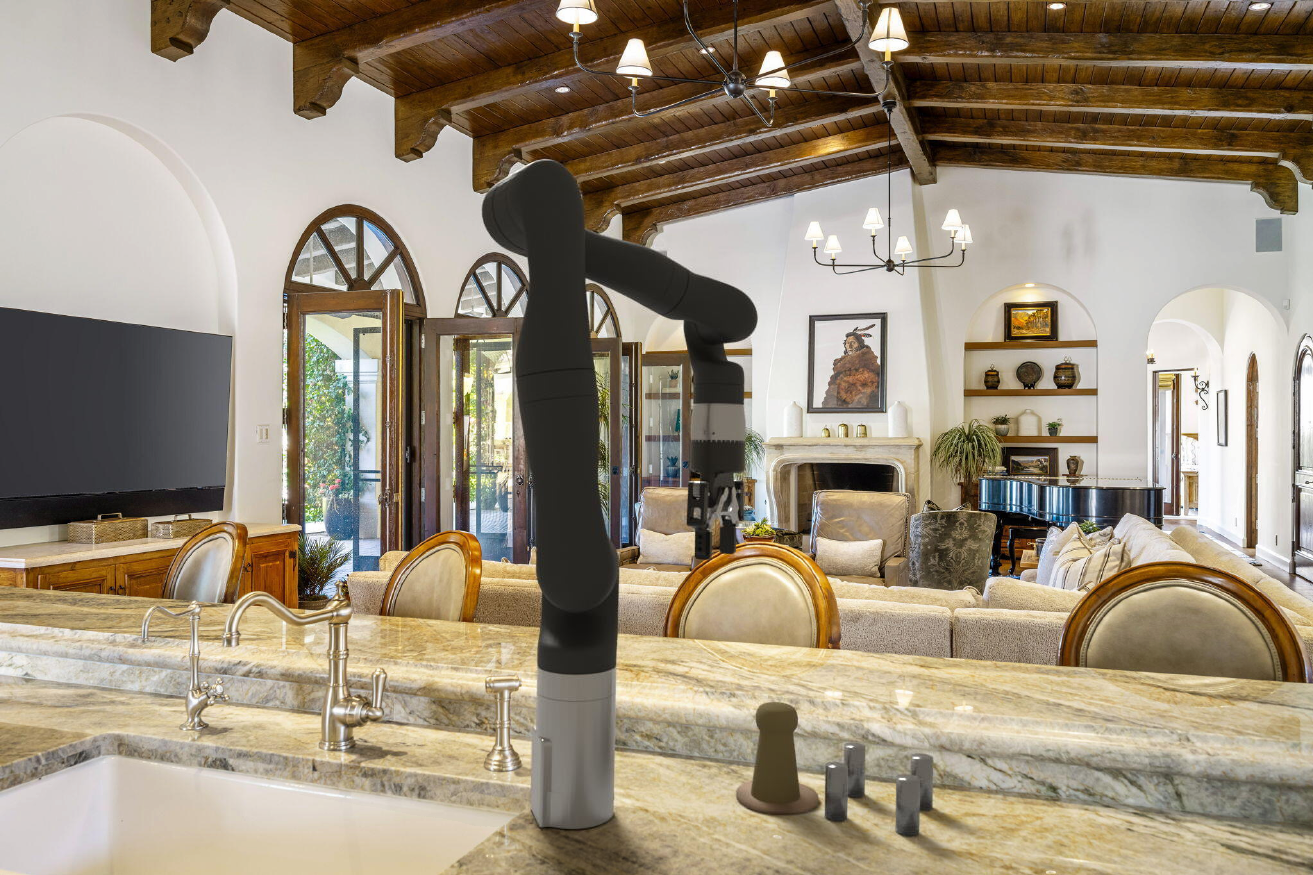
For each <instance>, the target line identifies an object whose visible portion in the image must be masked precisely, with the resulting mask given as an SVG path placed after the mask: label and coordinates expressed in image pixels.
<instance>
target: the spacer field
mask: <svg viewBox="0 0 1313 875" xmlns="http://www.w3.org/2000/svg"><path fill="white" fill-rule="evenodd" d="M824 768H825V769H824V773H825V775H824V819H827V820H828V821H830V822H835V823H841V822H846V821H847V820H848V806H849V805H848V800H849V799H848V798H853V799H861V798H864V797H865V795H866V793H865V792H866V745H865V744H862V743H858V742H845V743H844V746H843V762H841V761H829V762H826V763H825V766H824ZM933 791H934V757H933V756H932V755H929V754H926V753H919V752H917V753H912V754H911V755H910V774H907V773H901V774H898V775H896V776H895V826H894V828H895V832H896V834H897V835H900V836H903V837H909V838H912V837H918V836H919V835H920V820H921V819H920V816H921V815H920V814H921V813H920V812H930V811H932V810H933V809H934V808H933V806H934V804H933V802H934V801H933V800H934V796H933V794H934V792H933Z"/></svg>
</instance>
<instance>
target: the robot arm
mask: <svg viewBox="0 0 1313 875" xmlns="http://www.w3.org/2000/svg"><path fill="white" fill-rule="evenodd" d="M582 195H583V194H582V193H581V190H580V187H579V185H578V182H577V180H576V178H575V177H574V175H573V174H572V173H571V172H570V170H569V169H568V168H567V167H566V166H565V165H563V164H562V163H560V162H558V161H556V160H553V159H547V158H546V159H545V158H544V159H538V160H535V161H532V162H530V163H529V164H527V165H524V166H523V167H522V168H521V167H520V168H519V169H517V170H516V171H514V172H512V173H511V174H509V175H508V176H506V177H504V178H503V179H501V180H499V181H498V182H497V183H496V184H494V185H493V186H492V187H491V188H490V189H489V190H488V192H487V193H486V194H485V195H484V198H483V201H482V205H481V217H482V221H483V225H484V227H485V230H486V231H487V232H488V234H489V236H490V237H491V239H492V240H493V241H494V242H495V243H496V244H497V245H499V246H500V247H501V248H503V249H505V250H506V251H509V252H511V253H512V254H516V255H518V256H522V257H525V258H527V266H528V283H529V284H528V296H527V300H526V306H525V309H524V310H525V311H524V314H523V319H522V323H521V326H520V330H519V334H518V339H517V344H516V352H515V356H514V362H515V363H514V371H515V373H514V374H515V378H516V379H515V384H516V391H517V393H516V394H517V401H518V408H519V414H520V416H519V417H520V421H521V428H522V434H523V440H524V445H525V451H526V457H527V461H528V466H529V469H530V470H529V472H530V474H531V479H532V485H533V493H534V504H535V506H534V507H535V535H536V537H535V546H536V547H535V574H536V581H537V585H538V586H539V589H540V591H541V608H540V609H541V616H540V626H539V633H538V639H537V651H536V652H537V653H536V654H537V656H536V664H537V666H536V671H537V672H536V708H535V711H536V712H535V714H536V715H535V725H534V726H533V727H532V729H531V753H530V754H531V757H530V759H531V760H530V762H531V763H530V766H531V767H530V772H531V773H530V802H529V803H530V809H531V811H532V814H533V816H534V818H535V820H536V823H537V824H538V827H540V828H546V827H549V828H550V827H551V828H557V829H565V830H566V829H567V830H579V829H580V830H581V829H587V828H593V827H596V826H601V825H602V824H604V823H606V822H608V821H610V819H612V817H613V816H614V806H615V805H614V804H615V802H614V801H615V765H616V764H615V761H616V760H615V757H616V756H615V753H616V752H615V751H616V750H615V749H616V709H617V708H616V705H617V704H616V703H617V701H616V700H617V698H616V697H617V696H616V695H617V654H618V639H619V638H618V636H619V606H620V605H619V598H620V559H619V558H620V557H619V554H618V551H617V548H616V546H615V544H614V543H613V540H611V539H610V537H609V536H608V531H607V530H608V529H607V528H606V523H605V522H606V521H605V517H604V512H603V506H602V501H601V495H600V486H599V485H600V484H599V463H600V462H599V460H600V439H601V437H600V436H601V433H600V432H601V431H600V429H601V424H600V422H601V421H600V420H601V417H600V402H599V399H600V398H599V391H598V382H597V373H596V366H595V360H594V359H595V357H594V353H593V346H592V338H591V326H590V315H589V306H588V305H589V304H588V296H587V295H588V294H587V285H586V284H587V283H586V281H587V280H589V281H592V282H593V283H596V284H598V285H601V286H603V287H605V288H608V289H610V290H612V291H614V292H616V293H618V294H620V295H622V296H624V297H626V298H629V299H630V300H631V301H634V302H635V303H637V304H638V305H641V306H642V307H644V308H647V310H650V311H652V312H654V313H655V314H658V315H660V317H664V318H665V319H669V320H672V321H683V325H682V326H683V334H684V340H685V345H686V348H687V353H688V358H689V362H690V366H691V370H692V373H693V389H692V390H693V392H692V404H693V405H692V412H691V419H690V445H689V446H690V453H689V457H690V458H689V469H690V471H691V472H693V473H698V474H700V477H699V480H698V481H697V480H696V481H695V480H690V481H688V484H687V501H686V502H687V503H686V504H687V506H686V526H687V527H691V528H692V531H694V558H695V559H696V560H702V561H703V560H704V561H709V560H711V559H712V557H713V556H712V555H713V528H714V524H715V521H716V519H718V520H719V524H720V527H719V552H720V553H721V554H724V555H733V554H735V553H736V552H737V527H739V524H740V522H743V521H744V519H745V513H744V512H745V503H744V502H745V500H744V499H745V498H744V492H745V491H744V490H745V488H744V487H745V486H744V480H743V479H736V478H735V476H734V475H735V474H742V473H744V472H745V471H746V430H747V429H746V428H747V426H746V425H747V424H746V421H747V420H746V415H745V413H746V412H745V371H744V368H743V367H742V365H741V364H739V363H738V362H735V361H731V360H728V358H727V354H726V350H725V344H732V343H733V344H734V343H738V342H742V341H745V340H746V339H747V338H749V337H750V336H751V335H752V334H753V333H754V332H755V331H756V328H757V325H758V319H759V317H758V316H759V315H758V311H757V307H756V306H755V303H754V302H753V300H752V299H751V297H749V295H748V294H746V293H745V292H744V291H742V290H741V289H739V288H737V287H735V286H734V285H731V284H729V283H726V282H722V281H721V280H717V279H714V278H711V277H708V276H705V275H702V274H698V273H695V272H693V271H692V270H690V269H688V268H687V267H685V266H684V265H683V264H680V263H678V262H677V261H675V260H673V259H671V257H669V256H667V255H665V254H663V253H661V252H659V251H657V250H656V249H653V248H651V247H647V246H645V245H642V244H638V243H635V242H632V241H628V240H627V241H626V240H623V239H618V238H616V237H615V238H614V237H611V236H608V235H605V234H601V233H597V232H595V231H592V230H590V229H587V228H586V223H585V222H586V221H585V207H584V200H583V196H582ZM586 279H587V280H586Z"/></svg>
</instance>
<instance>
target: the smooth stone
mask: <svg viewBox="0 0 1313 875" xmlns="http://www.w3.org/2000/svg"><path fill="white" fill-rule="evenodd" d="M751 787H752V780H750V781H746V782H744V783H741V784H740V785H739V786H738V787H737V788H736V790H735V797H736V801H737V802H738V803H740V805H742V806H743V807H744V808H747V809H749V810H751V811H754V812H757V813H761V814H766V815H767V814H768V815H777V816H793V815H795V816H796V815H800V814H805V813H808V812H811V811H813V810H814V809H816V808H817V806H818V805H819V794H818V792H817V791H816V790H815V789H813V788H811V787H810V786H808V785H806V784H803V783H801V782H799V790H800V798H799V800H797V801H795V802H792V803H787V804H772V803H766V802H763V801H759V800H757V799H755V798H754V797H753V796H752V795H751Z"/></svg>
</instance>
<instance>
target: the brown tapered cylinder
mask: <svg viewBox="0 0 1313 875" xmlns="http://www.w3.org/2000/svg"><path fill="white" fill-rule="evenodd" d="M755 724H756V727H757V729H758V730H759V735H758V741H757V747H756V748H757V749H756V755H755V760H754V768H753V773H752V780H751V781H752V787H751V795H752V796H753V797H754V798H755V799H757V800H759V801H763V802H766V803H772V804H787V803H792V802H795V801H797V800H799V798H800V790H799V783H800V782H799V781H800V780H799V774H798V773H799V772H798V765H797V764H798V763H797V756H796V747H795V746H796V745H795V739H794V738H795V737H794V732H795V731H796V729H797V728H798V724H799V716H798V712H797V709H796V708H795V707H794V706H793V705H791V704H789V703H786V702H785V703H784V702H779V701H769V702H768V701H767V702H765V703H761V704H760V705H759V706H758V708H757V709H756V711H755Z"/></svg>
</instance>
